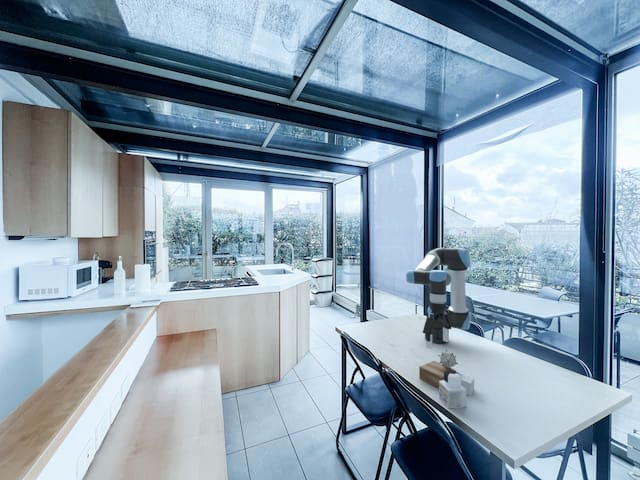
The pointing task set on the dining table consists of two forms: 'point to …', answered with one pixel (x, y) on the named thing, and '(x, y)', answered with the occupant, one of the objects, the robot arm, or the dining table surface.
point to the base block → (432, 373)
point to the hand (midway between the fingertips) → (437, 344)
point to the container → (452, 390)
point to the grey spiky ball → (447, 359)
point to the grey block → (467, 384)
